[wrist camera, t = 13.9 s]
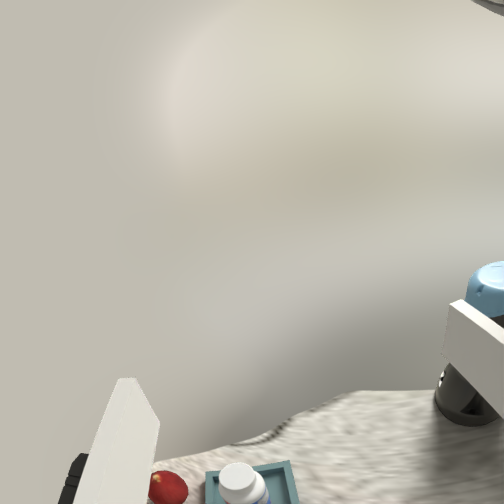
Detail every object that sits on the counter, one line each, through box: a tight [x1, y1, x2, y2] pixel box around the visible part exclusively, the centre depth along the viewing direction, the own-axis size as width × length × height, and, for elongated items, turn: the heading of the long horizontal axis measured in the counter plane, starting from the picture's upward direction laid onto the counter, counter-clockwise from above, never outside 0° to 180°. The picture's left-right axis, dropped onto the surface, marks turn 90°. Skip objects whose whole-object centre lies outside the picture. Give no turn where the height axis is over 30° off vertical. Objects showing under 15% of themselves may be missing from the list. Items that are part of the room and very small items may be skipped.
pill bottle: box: [218, 462, 271, 504], centre depth 26 cm, size 6×5×10 cm
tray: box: [205, 460, 300, 504], centre depth 27 cm, size 12×12×2 cm
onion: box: [148, 471, 188, 504], centre depth 28 cm, size 6×6×8 cm
